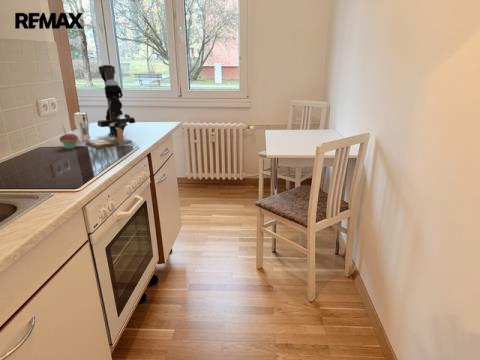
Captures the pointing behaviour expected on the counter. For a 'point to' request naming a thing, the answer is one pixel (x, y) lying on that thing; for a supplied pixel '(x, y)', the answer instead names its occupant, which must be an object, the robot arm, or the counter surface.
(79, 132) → the beer glass
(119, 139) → the gray plate with block
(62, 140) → the cupcake
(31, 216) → the counter surface
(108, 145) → the block
